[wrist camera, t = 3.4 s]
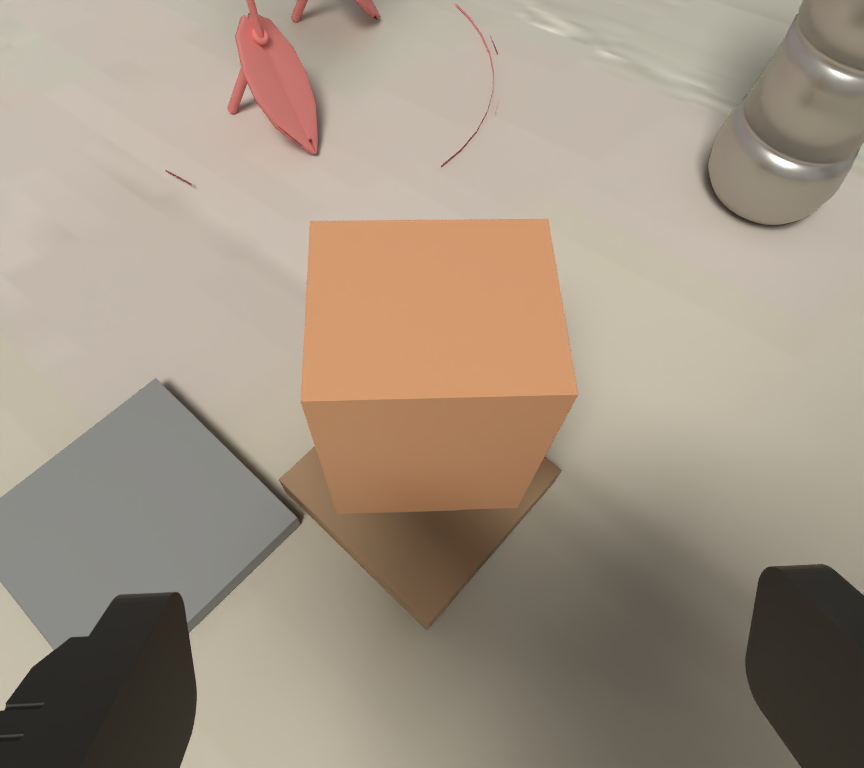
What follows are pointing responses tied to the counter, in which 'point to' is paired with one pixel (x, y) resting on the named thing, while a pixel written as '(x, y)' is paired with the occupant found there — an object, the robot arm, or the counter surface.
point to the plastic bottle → (796, 120)
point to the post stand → (414, 538)
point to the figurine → (283, 76)
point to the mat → (135, 519)
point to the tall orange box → (433, 361)
